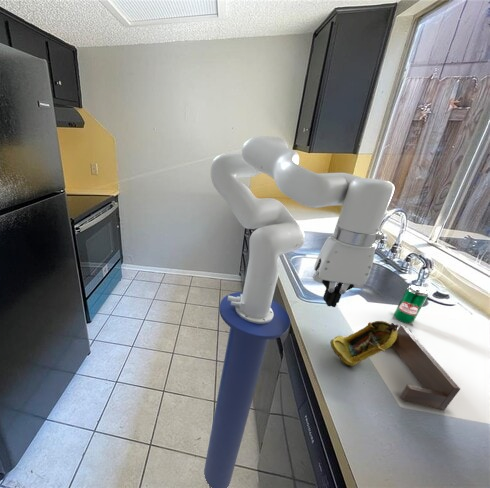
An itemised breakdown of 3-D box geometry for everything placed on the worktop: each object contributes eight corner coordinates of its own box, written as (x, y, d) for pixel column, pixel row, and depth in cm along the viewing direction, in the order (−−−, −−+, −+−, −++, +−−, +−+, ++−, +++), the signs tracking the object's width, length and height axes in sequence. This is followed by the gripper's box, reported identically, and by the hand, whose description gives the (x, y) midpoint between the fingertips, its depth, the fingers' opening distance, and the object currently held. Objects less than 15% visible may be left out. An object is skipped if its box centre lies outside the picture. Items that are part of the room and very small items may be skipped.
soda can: (391, 318, 86) (406, 288, 81) (394, 312, 89) (409, 282, 84) (411, 326, 82) (428, 295, 77) (413, 319, 86) (430, 289, 81)
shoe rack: (402, 400, 59) (416, 379, 56) (363, 338, 77) (372, 320, 74) (444, 410, 57) (460, 389, 54) (395, 344, 75) (405, 325, 72)
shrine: (377, 361, 69) (400, 316, 63) (377, 382, 63) (403, 335, 57) (328, 340, 75) (345, 298, 69) (325, 358, 69) (342, 313, 63)
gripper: (383, 234, 59) (356, 300, 66) (312, 226, 62) (294, 290, 69) (402, 247, 52) (370, 318, 60) (321, 237, 55) (300, 307, 63)
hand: (329, 303), depth 64 cm, fingers closed
